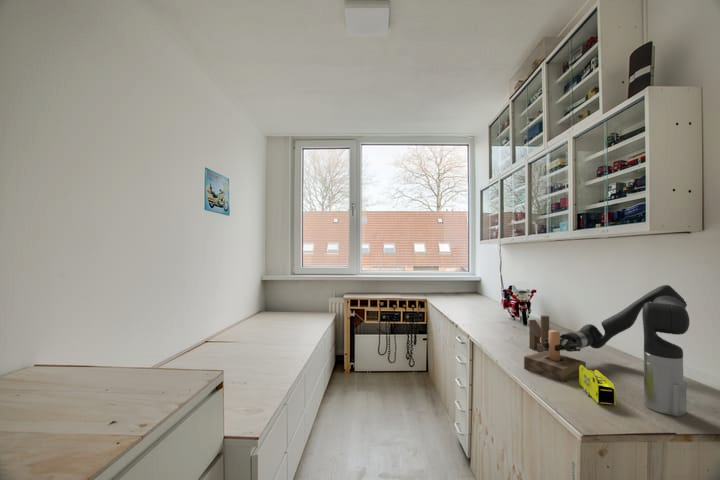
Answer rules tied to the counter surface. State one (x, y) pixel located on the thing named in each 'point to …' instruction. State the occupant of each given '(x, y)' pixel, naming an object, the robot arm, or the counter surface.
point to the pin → (554, 340)
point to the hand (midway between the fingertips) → (550, 346)
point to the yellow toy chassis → (597, 386)
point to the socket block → (553, 366)
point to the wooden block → (538, 333)
